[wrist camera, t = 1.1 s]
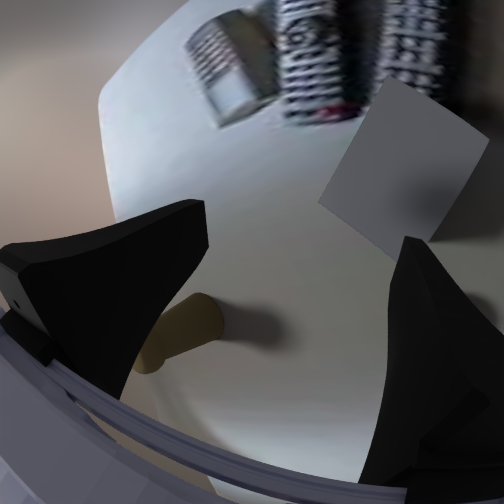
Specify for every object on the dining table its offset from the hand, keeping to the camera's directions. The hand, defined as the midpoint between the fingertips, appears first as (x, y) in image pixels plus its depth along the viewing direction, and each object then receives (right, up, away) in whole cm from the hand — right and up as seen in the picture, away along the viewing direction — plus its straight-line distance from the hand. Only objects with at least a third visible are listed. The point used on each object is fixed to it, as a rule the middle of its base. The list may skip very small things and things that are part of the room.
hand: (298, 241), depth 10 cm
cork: (-7, -8, +25) cm, 27 cm away
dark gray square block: (+10, +5, +8) cm, 14 cm away
